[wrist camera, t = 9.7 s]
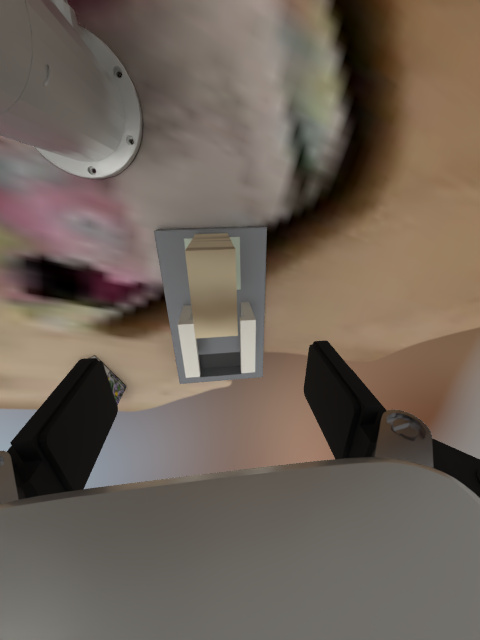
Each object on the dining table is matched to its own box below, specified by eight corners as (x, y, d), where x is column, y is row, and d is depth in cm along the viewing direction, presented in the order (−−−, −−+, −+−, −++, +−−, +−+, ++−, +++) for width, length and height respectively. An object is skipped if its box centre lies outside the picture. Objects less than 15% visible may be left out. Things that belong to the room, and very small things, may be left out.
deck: (158, 229, 31) (153, 231, 29) (263, 226, 32) (267, 227, 30) (181, 374, 42) (179, 384, 39) (260, 367, 43) (262, 377, 40)
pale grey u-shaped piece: (183, 305, 34) (177, 324, 28) (249, 301, 34) (255, 319, 29) (189, 352, 37) (185, 377, 32) (249, 348, 38) (255, 372, 32)
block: (195, 234, 29) (184, 250, 19) (227, 233, 30) (235, 249, 19) (201, 294, 33) (195, 338, 22) (229, 293, 33) (237, 335, 22)
